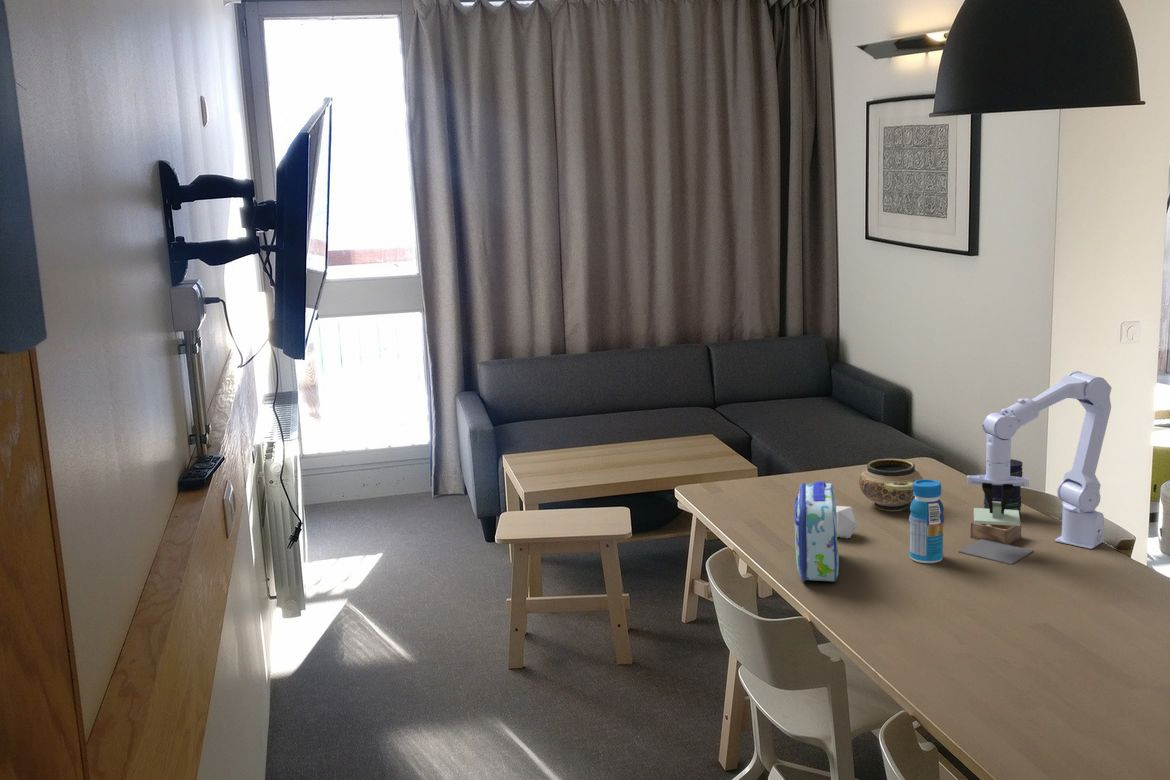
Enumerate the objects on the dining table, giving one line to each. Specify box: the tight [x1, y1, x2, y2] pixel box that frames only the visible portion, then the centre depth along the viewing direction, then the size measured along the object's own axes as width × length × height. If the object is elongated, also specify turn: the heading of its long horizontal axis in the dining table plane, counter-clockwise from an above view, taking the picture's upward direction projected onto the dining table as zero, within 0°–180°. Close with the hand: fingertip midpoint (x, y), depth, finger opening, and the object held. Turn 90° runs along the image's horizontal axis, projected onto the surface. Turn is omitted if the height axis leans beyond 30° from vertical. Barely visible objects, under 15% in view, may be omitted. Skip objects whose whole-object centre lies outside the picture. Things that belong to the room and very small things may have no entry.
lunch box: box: [794, 480, 840, 582], centre depth 268 cm, size 26×11×21 cm, turn 168°
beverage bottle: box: [908, 478, 945, 564], centre depth 271 cm, size 8×8×20 cm
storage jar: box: [983, 458, 1024, 517], centre depth 301 cm, size 10×10×15 cm
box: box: [970, 521, 1022, 545], centre depth 285 cm, size 10×8×4 cm
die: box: [836, 505, 859, 539], centre depth 292 cm, size 8×9×10 cm
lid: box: [973, 501, 1021, 526], centre depth 274 cm, size 11×9×4 cm
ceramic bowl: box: [858, 458, 924, 512], centre depth 313 cm, size 24×18×15 cm
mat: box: [958, 539, 1034, 566], centre depth 275 cm, size 14×12×1 cm
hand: (996, 512), depth 273 cm, fingers closed on lid, 2 cm apart
